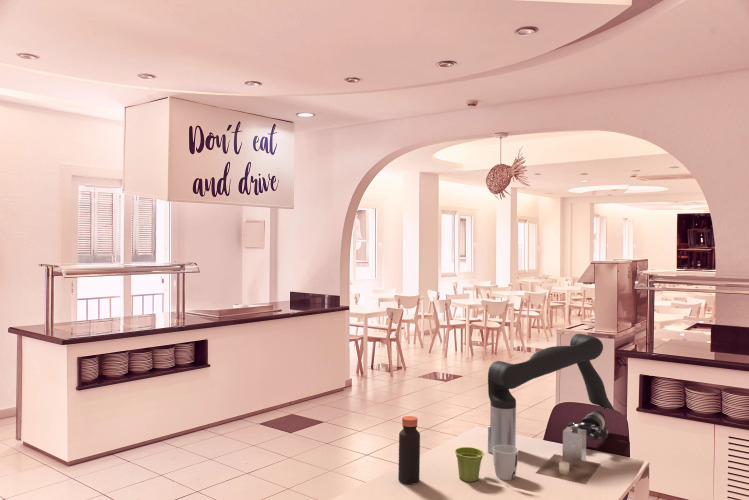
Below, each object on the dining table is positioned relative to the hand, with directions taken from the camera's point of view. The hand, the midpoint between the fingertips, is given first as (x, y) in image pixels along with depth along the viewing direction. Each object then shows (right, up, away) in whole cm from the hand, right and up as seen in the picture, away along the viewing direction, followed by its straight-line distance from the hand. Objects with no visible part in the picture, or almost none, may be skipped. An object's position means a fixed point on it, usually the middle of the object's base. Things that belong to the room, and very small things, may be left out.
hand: (582, 434), depth 208 cm
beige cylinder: (-13, -6, -20) cm, 25 cm away
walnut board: (-10, -7, -15) cm, 20 cm away
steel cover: (-6, -6, -9) cm, 13 cm away
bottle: (-65, -7, -26) cm, 70 cm away
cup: (-34, -7, -24) cm, 42 cm away
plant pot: (-45, -7, -23) cm, 51 cm away
